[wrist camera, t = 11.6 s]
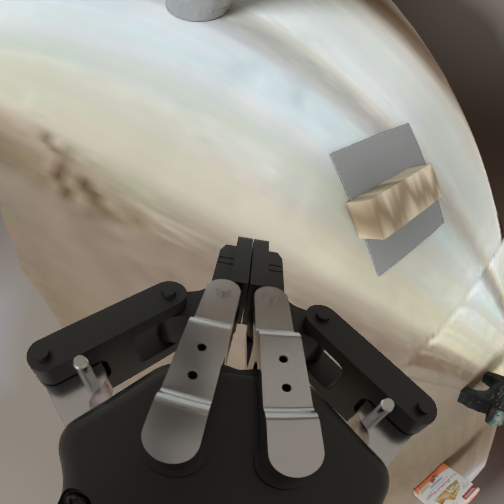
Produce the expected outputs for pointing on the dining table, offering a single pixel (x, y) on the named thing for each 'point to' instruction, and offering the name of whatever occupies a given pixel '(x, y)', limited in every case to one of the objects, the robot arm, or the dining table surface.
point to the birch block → (394, 202)
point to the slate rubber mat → (376, 172)
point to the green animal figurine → (487, 399)
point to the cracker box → (445, 488)
